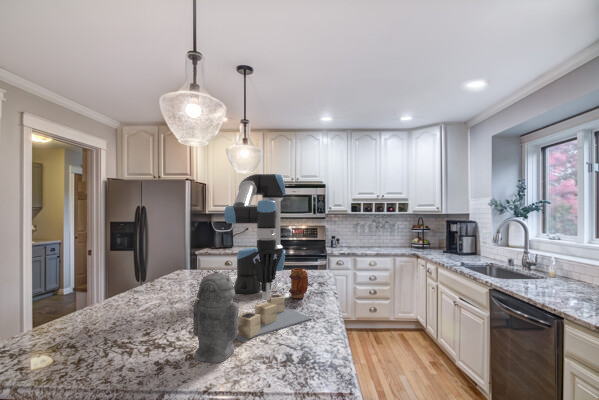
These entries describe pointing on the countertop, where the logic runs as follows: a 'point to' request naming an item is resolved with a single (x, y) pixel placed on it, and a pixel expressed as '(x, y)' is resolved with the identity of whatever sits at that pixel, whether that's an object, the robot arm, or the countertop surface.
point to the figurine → (215, 318)
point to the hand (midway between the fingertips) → (265, 299)
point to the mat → (279, 323)
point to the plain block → (266, 312)
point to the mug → (298, 283)
